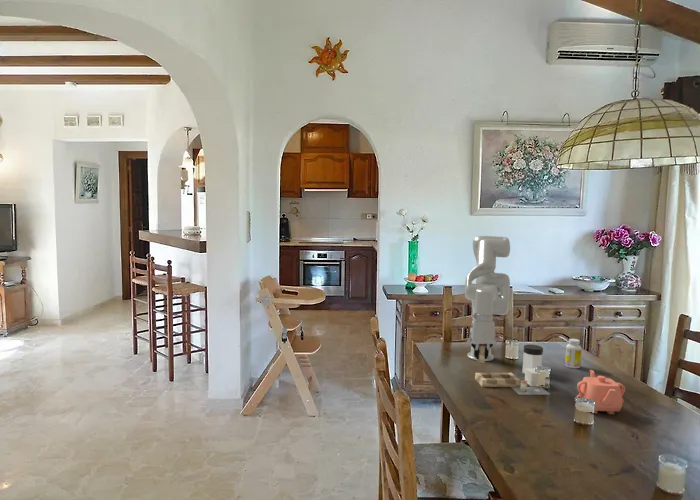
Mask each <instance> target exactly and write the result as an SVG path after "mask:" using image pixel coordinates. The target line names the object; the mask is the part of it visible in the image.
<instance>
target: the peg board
mask: <svg viewBox="0 0 700 500" xmlns="http://www.w3.org/2000/svg"><path fill="white" fill-rule="evenodd" d="M474 380H475V381H476V382H477V383H478V384H479V385H480V386H481V388H483V387H485V388H486V387H488V388H492V387H494V388H495V387H496V388H497V387H498V388H502V387H503V388H507V387H508V388H509V387H510V388H511V387H520V384H521V379H520V378H519V377H517V376H516V375H515V374H514V373H513V372H475V373H474Z"/></svg>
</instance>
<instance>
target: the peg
mask: <svg viewBox="0 0 700 500" xmlns="http://www.w3.org/2000/svg"><path fill="white" fill-rule="evenodd" d="M485 346H486V345H485V344H479V346H478V350H479V359H477V360H476V363H477V364H480V365H481V364H485V362H486V361H485Z"/></svg>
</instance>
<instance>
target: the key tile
mask: <svg viewBox="0 0 700 500" xmlns="http://www.w3.org/2000/svg"><path fill="white" fill-rule="evenodd" d="M539 387H540V386H528V383H527V381H526V380H525V379H520V387H510V388H511V389H512V390H513V391H514V392H515V393H517V394H518V395H520V396H521V395H523V396H524V395H537V396H538V395H541V396H542V395H544V396H545V395H546V396H547V395H552V394H551V393H549V392H548V391H547V390H546V389H545V388H543V387H542V388H539Z"/></svg>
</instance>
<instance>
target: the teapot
mask: <svg viewBox="0 0 700 500" xmlns="http://www.w3.org/2000/svg"><path fill="white" fill-rule="evenodd" d="M589 372H590V373H589V374H590V376H584V377H582V380H581V381H578V382H577V385H576V389H577V391H578V394H577V395H576V398H577V397H581V398H586V399H591V400H594V402H595V414H594V415H597V414H598V412H606V413H607V414H608V413H609V414H608V415H610V414H615V415H616V413H615V412H621V410H622V407H623V404H624V398H623V395H624V394H625V392H626V387H625V385H624V384H622V383H621V382H616V381H615V380H613V379H612V378H609V377H606V376H604V375H597V376H596V374H595V371H594V370H593V369H589Z"/></svg>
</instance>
